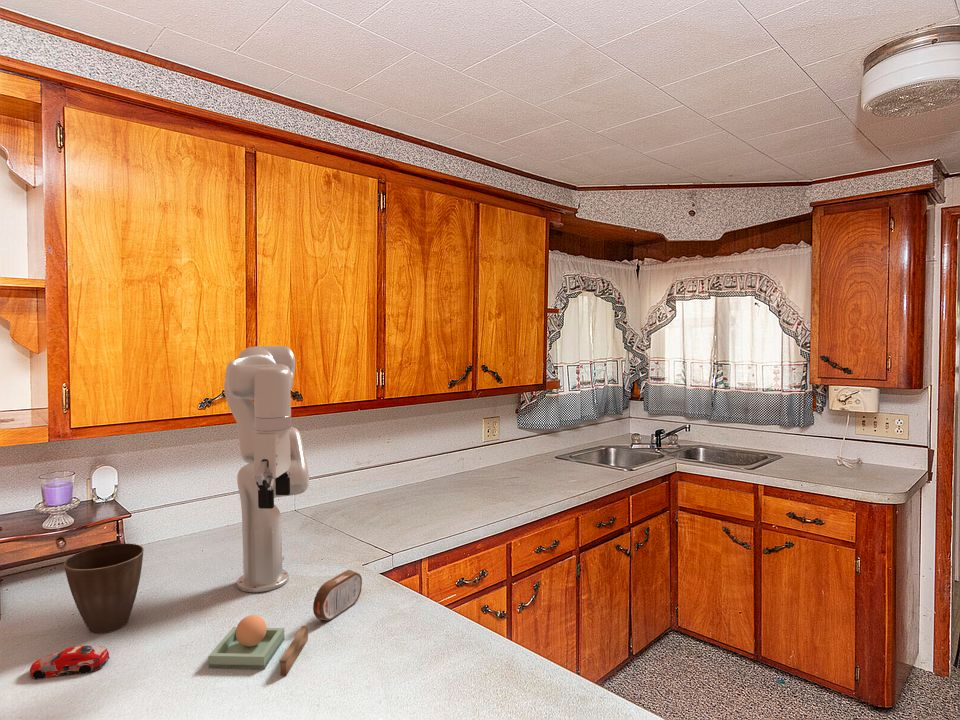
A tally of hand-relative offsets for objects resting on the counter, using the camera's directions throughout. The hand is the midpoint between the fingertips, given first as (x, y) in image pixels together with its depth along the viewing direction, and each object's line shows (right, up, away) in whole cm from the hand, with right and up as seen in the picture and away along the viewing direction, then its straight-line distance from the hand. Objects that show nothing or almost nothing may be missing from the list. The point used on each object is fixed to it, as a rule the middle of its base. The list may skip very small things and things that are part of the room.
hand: (274, 501), depth 131 cm
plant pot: (-38, -29, +2) cm, 48 cm away
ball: (-2, -28, -9) cm, 29 cm away
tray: (-2, -29, -9) cm, 30 cm away
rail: (+8, -29, -10) cm, 32 cm away
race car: (-35, -30, -14) cm, 48 cm away
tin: (+12, -28, +8) cm, 32 cm away
